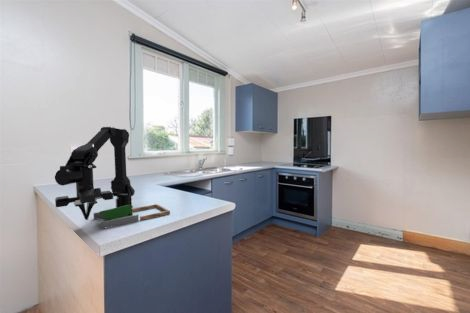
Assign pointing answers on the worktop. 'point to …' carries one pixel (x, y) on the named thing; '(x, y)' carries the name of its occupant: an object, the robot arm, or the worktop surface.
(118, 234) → the worktop surface
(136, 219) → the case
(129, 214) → the green bracket
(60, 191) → the worktop surface
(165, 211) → the bay
